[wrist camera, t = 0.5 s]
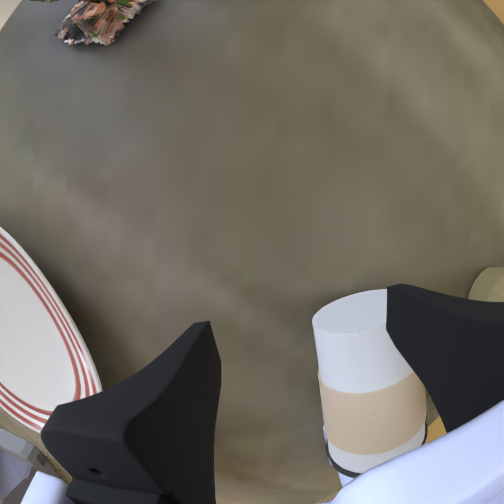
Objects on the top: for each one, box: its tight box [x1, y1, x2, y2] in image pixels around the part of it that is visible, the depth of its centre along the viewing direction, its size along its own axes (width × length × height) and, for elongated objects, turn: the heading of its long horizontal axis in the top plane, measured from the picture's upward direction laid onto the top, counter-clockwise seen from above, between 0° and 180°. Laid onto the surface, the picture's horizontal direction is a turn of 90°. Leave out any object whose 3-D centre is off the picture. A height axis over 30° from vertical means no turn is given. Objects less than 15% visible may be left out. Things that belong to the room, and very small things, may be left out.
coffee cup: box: [312, 289, 427, 478], centre depth 18 cm, size 9×9×15 cm
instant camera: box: [0, 427, 61, 504], centre depth 23 cm, size 21×21×15 cm
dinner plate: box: [0, 227, 103, 434], centre depth 20 cm, size 28×27×3 cm
